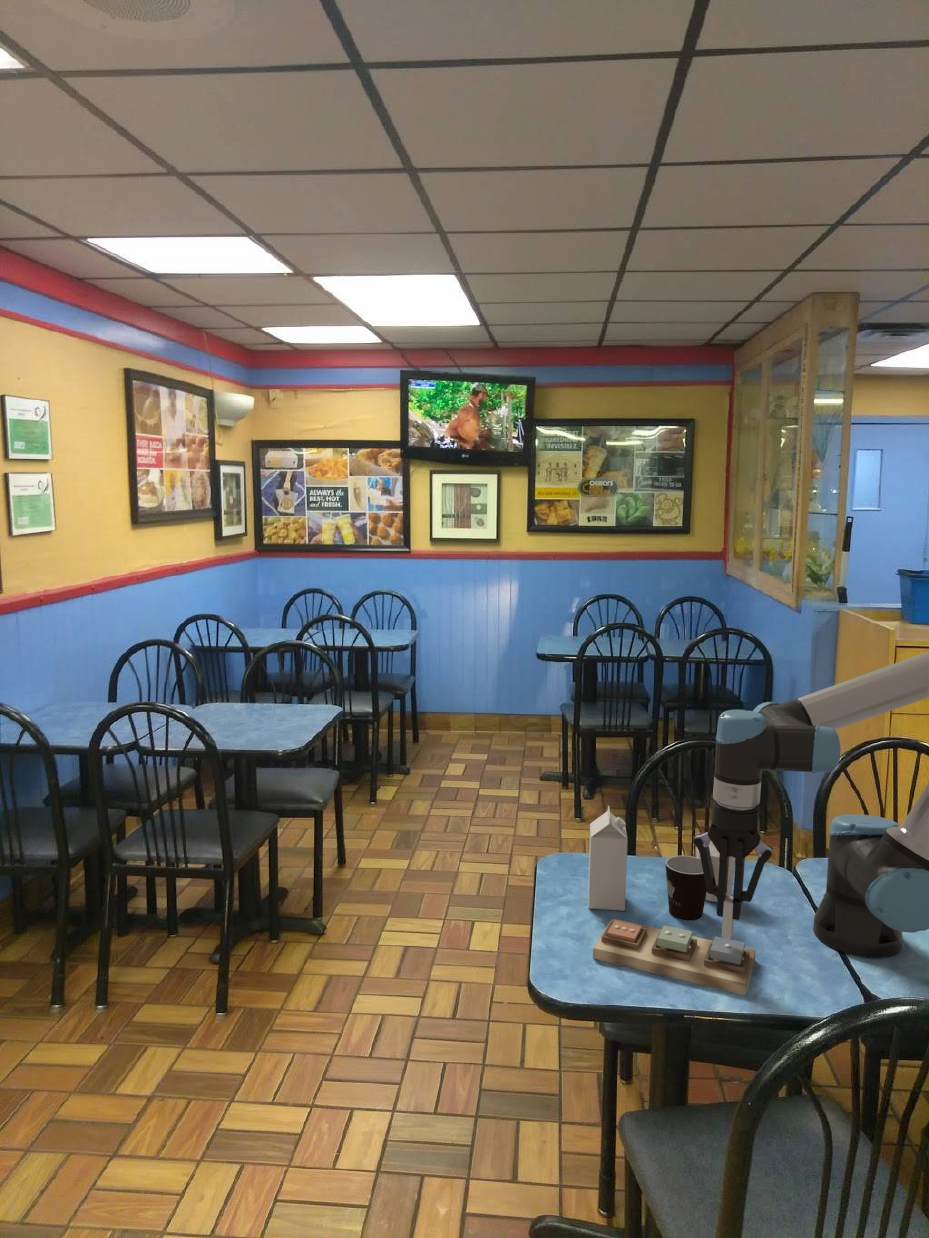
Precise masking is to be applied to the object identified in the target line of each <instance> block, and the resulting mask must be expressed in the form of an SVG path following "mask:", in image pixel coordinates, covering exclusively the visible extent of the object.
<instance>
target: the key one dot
mask: <svg viewBox="0 0 929 1238" xmlns="http://www.w3.org/2000/svg"><path fill="white" fill-rule="evenodd" d="M712 941H713V944H712V947H711V949H710V958H713V959H717V960H721V961H726V962H730V963H734V964H739V965H740V964H741V961H742V957H743V954H744V951H745V948H746V946H745V945H746V943H745V942H743V941H738V940H734V939H726V938H722V937H719V936H715V937H714V939H713V940H712Z"/></svg>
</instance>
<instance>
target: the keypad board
mask: <svg viewBox="0 0 929 1238" xmlns="http://www.w3.org/2000/svg"><path fill="white" fill-rule="evenodd" d="M615 920H616V921H621V922H625V923H630V924H634V925H639V926H642V933H641V935H640V937H639V938H638V940H637V942H636V943H634V942H629V941H625V940H621V939H616V938H612V937H607V932H608V931H609V929H610V927H611V926H612V924H613V923H614V921H615ZM661 930H662V929H661V928H656V927H653V926H647V925H642V924H638V923H634V922H630V921H624V920H620V919H616V918H611V919H610V921H609V922H608V924H607V925H606V927H605V928H604V930H603V932H601V933H602V934H601V935H600V936H599V938H598V940H596V943H595V945H594V946H593V948H592V950H593V951H592V959H593V960H598V961H602V962H605V963H610V964H614V965H619V966H622V967H626V966H627V968H630V967H631V969H634V968H636V969H635V970H639V971H643V972H647V973H651V974H656V975H660V976H664V977H668V978H673V979H676V980H681V981H684V982H689V983H693V984H697V985H701V986H706V987H710V988H714V989H718V990H721V991H722V990H723V991H726V992H730V993H735V994H738V995H743V996H746V994H747V993H748V992H747V991H748V988H749V985H750V980H751V977H752V973H753V970H754V967H755V962H756V952H757V950H756V949H752V948H749V947H745V951H744V954H743V957H742V961H741V964H740V965H739V964H734V963H730V962H726V961H721V960H717V959H713V958H710V949H711V947H712V944H713V941H714V940H712V939H711V940H710V939H707V938H703V937H699V936H694V935H692V940H691V943H690V945H689V947H688V949H687V952H682V951H677V950H673V949H669V948H664V947H660V946H657V941H658V936H659V934H660V932H661Z"/></svg>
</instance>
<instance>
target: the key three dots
mask: <svg viewBox="0 0 929 1238" xmlns="http://www.w3.org/2000/svg"><path fill="white" fill-rule="evenodd" d="M616 920H617V919H616ZM616 920H615V921H614V923H613V924H612V926H611V927H610V929H609V931H608V932H607V937H612V938H616V939H621V940H625V941H629V942H634V943H636V942H637V940H638V938H639V937H640V935H641V933H642V926H639V925H640V924H639V925H634V924H630V923H631V922H630V923H625V922H626V921H625V922H621V921H622V920H621V921H616Z"/></svg>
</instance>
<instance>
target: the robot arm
mask: <svg viewBox="0 0 929 1238" xmlns="http://www.w3.org/2000/svg"><path fill="white" fill-rule="evenodd" d="M925 699H929V651H926V652H923V653H921V654H918V655H915V656H911V657H910V658H906V659H904V660H902V661H898V662H896V663H892V664H890V665H887V666H885V667H882V668H879V669H875V670H873V671H871V672H867V673H865V674H862V675H859V676H857V677H853V678H850V679H848V680H846V681H844V682H840V683H837V684H834V685H831V686H829V687H825V688H823V689H820V690H817V691H813V692H812V693H809V694H807V695H803V696H801V697H798V698H794V699H792V700H788V701H786V702H783V703H779V702H774V701H766V702H762V703H760V704H758V705H757V706H756V707H754V709H753V710H746V709H729V710H725V711H723V712H722V713H721V714H720V715H719V717H718V720H717V729H716V730H717V731H716V736H715V761H714V762H715V765H714V767H715V769H714V777H713V788H712V789H713V790H712V791H713V792H712V798H713V800H714V801H713V802H712V806H711V807H712V809H711V820H710V821H711V822H710V826H709V828H708V830H707V832H704V833H702V834H701V833H698V834H696V835H695V838H694V840H693V843H694V845H695V848H696V847H697V849H698V850H699V853H700V858H701V863H702V868H703V874H704V879H705V884H706V889H707V892H708V893H709V894H713V895H715V896H716V897H717V902H716V915H717V917H721V918H722V926H721V938H725V939H729V940H732V937H733V934H734V925H735V923H734V922H735V921H739V919H740V918H741V915H742V903H743V902H748V903H750V902H751V901H752V900H753V898H754V894H755V892H756V889H757V886H758V883H759V880H760V877H761V874H762V872H763V869H764V866H765V864H766V863H767V862H768V861H769V860H770V859H771V858H772V857H773V856H772V855H773V853H774V848H773V846H772V845H768V846H767V845H766V844H765V843H764V842H763V841H762V840H761V835H760V833H759V821H760V820H759V819H760V818H759V817H760V807H759V806H758V805H759V804H760V803H761V792H762V791H761V790H762V789H761V788H762V773H763V771H777V772H778V771H780V772H803V773H805V772H806V773H812V774H815V773H824V772H825V773H826V772H827V773H828V772H829V773H830V772H832V771H834V770H835V769H837V767H838V765H839V763H840V760H841V754H842V753H841V752H842V751H841V750H842V749H841V747H842V746H841V741H840V740H841V739H840V738H839V734H838V733H837V731H836V730H840V729H842V728H846V727H849V726H851V725H854V724H857V723H861V722H862V721H866V720H869V719H871V718H874V717H877V716H880V715H883V714H885V713H889V712H891V711H895V710H897V709H900V708H903V707H906V706H909V705H912V704H914V703H915V704H916V703H918V702H921V701H923V700H925ZM828 836H829V839H828V840H829V841H828V842H829V843H828V857H827V870H826V871H827V874H826V890H825V893H824V895H823V897H822V899H821V901H820V903H819V906H818V907H817V910H816V913H815V915H814V917H813V927H812V930H813V933H814V935H815V937H816V938H817V937H818V938H819V939H818V938H817V939H818V940H820V941H821V942H822V943H823V944H825V945H827V946H828V947H830V948H832V949H835V950H837V951H839V952H842V953H845V954H848V955H851V956H852V955H853V956H856V957H863V958H873V959H879V958H889V957H892V956H895V955H897V954H898V953H899V952H901V950H902V948H903V940H904V939H903V933H916V932H923V931H926V930H929V781H928V783H927V784H926V786H925V787H924V789H923V790H922V792H921V794H920V795H919V797H918V798H917V800H916V801H915V803H914V804H913V806H912V808H911V810H910V811H909V813H908V815H907V816H906V818H905V819H904V820H903V823H902V824H899V823H898V822H896V821H894V820H892V819H889V818H885V817H882V816H875V815H869V814H858V813H857V814H855V813H853V814H851V813H850V814H842V815H837V816H836V817H835V818H833V819H832V821H831V825H830V830H829V833H828ZM710 841H712V843H713V844H714V846H715V848H716V849H717V851H718V852H719V853H720V856H719V878H718V886H717V885H716V881H715V876H714V870H713V865H712V860H711V855H710V849H709V844H710ZM755 849H757V850H756V851H757V852H756V855H757V856H758V858H757V860H756V862H755V866H754V869H753V872H752V874H751V878H750V880H749V883H748V886H747V889H746V890H744V875H745V863H746V858H747V857H748V856H749V855H750V854H751V853H752V852H753V851H754V850H755ZM729 857H734V858H735V872H734V879H733V891H732V892H733V895H731V896H729V895H726V893H727V882H728V867H729Z"/></svg>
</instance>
